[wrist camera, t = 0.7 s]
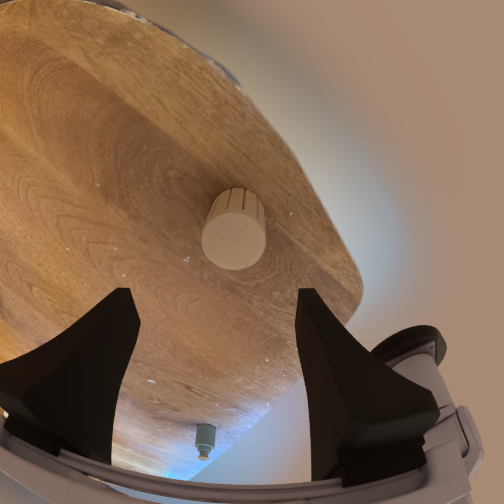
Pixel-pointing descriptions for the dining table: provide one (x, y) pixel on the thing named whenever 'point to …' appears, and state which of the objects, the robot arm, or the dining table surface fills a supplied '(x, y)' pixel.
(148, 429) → the dining table surface
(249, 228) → the fluted tan knob
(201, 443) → the bottle
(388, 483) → the robot arm
